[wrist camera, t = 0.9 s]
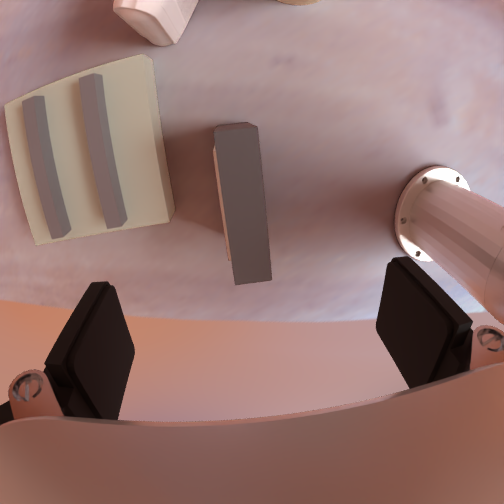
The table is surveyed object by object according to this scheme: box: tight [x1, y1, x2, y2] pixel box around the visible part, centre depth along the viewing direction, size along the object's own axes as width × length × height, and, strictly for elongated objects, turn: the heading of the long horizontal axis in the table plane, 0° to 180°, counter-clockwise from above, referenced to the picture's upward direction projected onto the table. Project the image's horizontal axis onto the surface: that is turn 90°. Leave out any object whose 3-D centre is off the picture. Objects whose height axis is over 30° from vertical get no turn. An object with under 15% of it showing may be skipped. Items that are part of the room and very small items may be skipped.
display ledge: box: [4, 54, 175, 246], centre depth 26 cm, size 16×16×6 cm
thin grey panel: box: [213, 122, 272, 285], centre depth 27 cm, size 3×12×10 cm, turn 6°
